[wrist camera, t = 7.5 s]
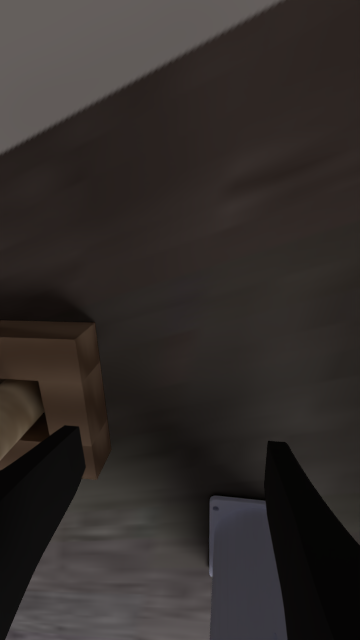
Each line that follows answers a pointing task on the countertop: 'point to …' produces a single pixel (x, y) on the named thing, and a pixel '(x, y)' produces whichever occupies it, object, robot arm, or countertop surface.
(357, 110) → the countertop surface
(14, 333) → the walnut socket block
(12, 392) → the beech peg
